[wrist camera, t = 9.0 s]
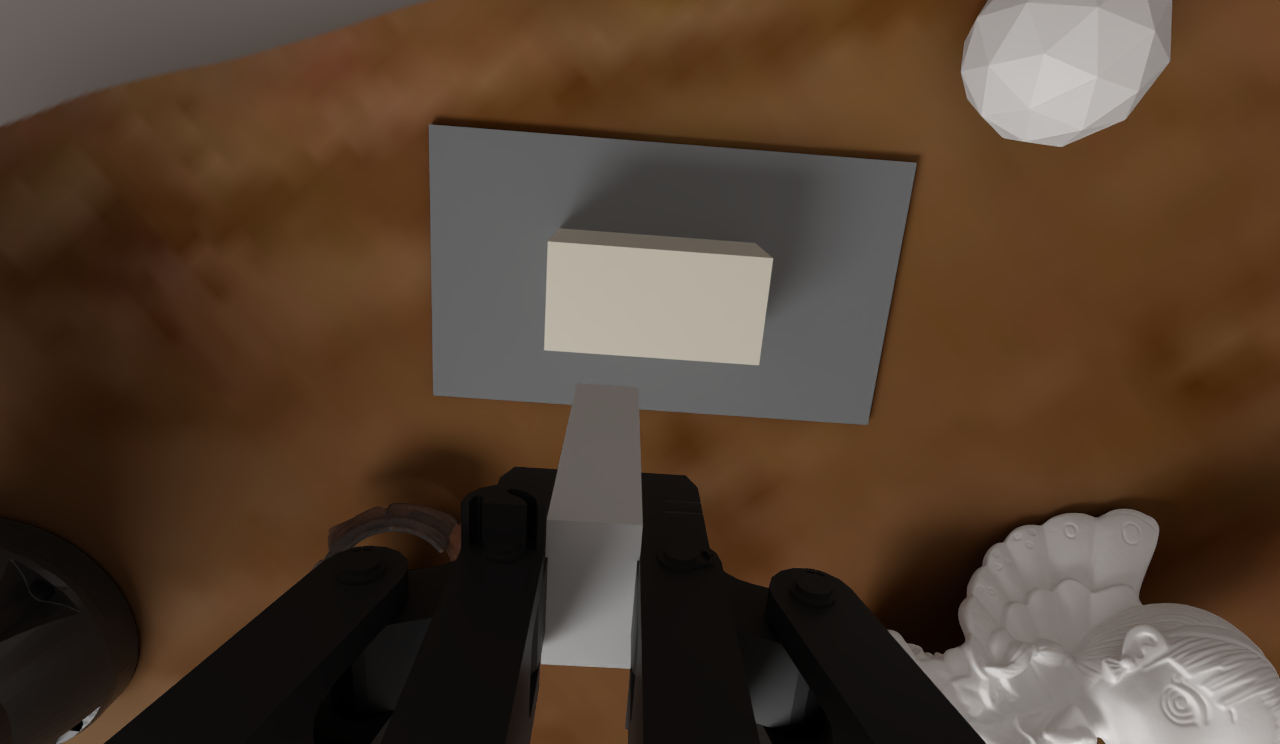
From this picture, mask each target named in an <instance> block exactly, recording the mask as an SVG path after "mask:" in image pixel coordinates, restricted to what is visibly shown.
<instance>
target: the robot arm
mask: <svg viewBox="0 0 1280 744" xmlns="http://www.w3.org/2000/svg"><path fill="white" fill-rule="evenodd" d="M138 648H139V647H138V634H137V629H136V625H135V621H134V618H133V615H132V613H131V610H130V608H129V606H128V604H127V602H126V600H125V599H124V597H123V595H122V594H121V592H120V591H119V589H118V588H117V586H116V585H115V584H114V582H113V581H112V580H111V579H110V577H109V576H108V575H107V574H106V573H105V572H104V571H103V570H102V569H101V568H100V567H99V566H98V565H97V564H96V563H95V562H94V561H93V560H91V559H90V558H89V557H88V556H86V555H85V554H84V553H83V552H81V551H80V550H78V549H77V548H76V547H74V546H73V545H71V544H69V543H68V542H66V541H64V540H63V539H61V538H59V537H57V536H55V535H53V534H51V533H49V532H47V531H44V530H42V529H39V528H37V527H34V526H31V525H28V524H25V523H21V522H18V521H14V520H9V519H4V518H0V744H61V743H63V742H65V741H67V740H69V739H71V738H72V737H74V736H76V735H77V734H79V733H81V732H82V731H83V730H85V729H86V728H87V727H89V726H90V725H91V724H92V723H93V722H94V721H96V720H97V719H98V718H99V717H100V716H101V714H102V713H103V712H104V711H105V710H106V709H107V708H108V707H109V706H110V705H111V704H112V703H113V702H114V701H115V700H116V698H117V697H118V696H119V695H120V694H121V693H122V692H123V691H124V689H125V688H126V687H127V685H128V683H129V682H130V680H131V678H132V676H133V673H134V671H135V668H136V664H137V659H138ZM541 653H542V655H541ZM540 658H541V664H551V665H570V666H590V667H609V668H628V669H630V679H629V691H628V702H627V714H626V726H625V729H628V744H986V742H985V741H984V740H983V739H982V738H981V737H980V736H979V734H978V733H977V732H976V731H975V730H974V729H973V728H972V726H971V725H970V724H969V723H968V722H967V721H966V720H965V718H964V717H963V716H962V715H961V714H960V713H959V712H958V710H957V709H956V708H955V707H954V706H953V705H952V704H951V702H950V701H949V700H948V699H947V698H946V697H945V696H944V694H943V693H942V692H941V691H940V690H939V689H938V688H937V686H936V685H935V684H934V683H933V682H932V681H931V680H930V678H929V677H928V676H927V675H926V674H925V673H924V672H923V670H922V669H921V668H920V667H919V666H918V665H917V664H916V662H915V661H914V660H913V659H912V658H911V657H910V656H909V654H908V653H907V652H906V651H905V650H904V649H903V648H902V646H901V645H900V644H899V643H898V642H897V641H896V640H895V638H894V637H893V636H892V635H891V634H890V633H889V632H888V630H887V629H886V628H885V627H884V626H883V625H882V624H881V622H880V621H879V620H878V619H877V618H876V617H875V616H874V614H873V613H872V612H871V611H870V610H869V609H868V608H867V606H866V605H865V604H864V603H863V602H862V601H861V600H860V598H859V597H858V596H857V595H856V594H855V593H854V592H853V590H852V589H851V588H849V587H848V586H847V585H846V584H845V583H843V582H842V581H841V580H840V579H837V578H835V577H833V576H831V575H829V574H827V573H825V572H822V571H819V570H815V569H808V568H805V569H804V568H792V569H788V570H783V571H780V572H779V573H777V574H776V575H775V576H773V577H772V579H771V582H770V585H769V588H766V587H762V586H759V585H755V584H751V583H748V582H745V581H742V580H739V579H737V578H735V577H733V576H731V575H729V574H727V573H726V572H724V571H723V567H722V562H721V561H720V559H719V557H718V555H717V553H715V552H714V551H713V550H711V549H710V548H709V543H708V538H707V533H706V527H705V522H704V517H703V515H702V507H701V504H700V497H699V492H698V488H697V487H696V486H695V485H694V484H693V483H692V482H691V481H690V480H689V479H688V478H687V477H686V476H685V475H669V474H653V473H641V457H640V427H639V397H638V387H627V386H612V385H597V384H582V383H577V385H576V390H575V394H574V399H573V403H572V408H571V412H570V417H569V421H568V426H567V430H566V435H565V439H564V444H563V448H562V453H561V457H560V462H559V466H558V469H543V468H527V467H514V468H513V469H511V470H510V471H509V472H507V473H506V474H504V475H503V476H502V477H500V480H499V482H498V485H493V486H488V487H484V488H479V489H477V490H475V491H473V492H471V493H469V494H467V495H466V497H465V498H464V499H463V500H462V501H461V549H460V552H459V554H458V557H457V559H456V560H455V561H452V562H449V563H446V564H443V565H439V566H434V567H430V568H422V569H415V570H408V565H407V559H406V558H405V557H404V556H403V555H402V554H401V553H400V552H398V551H396V550H393V549H390V548H387V547H378V546H363V547H361V546H360V547H354V548H351V549H348V550H345V551H342V552H339V553H336V554H334V555H333V556H331V557H329V558H328V559H326V560H324V561H323V562H321V563H320V564H319V565H318V566H317V567H315V568H314V569H313V570H312V571H311V572H309V573H308V574H307V575H306V576H305V577H303V578H302V579H301V580H300V581H299V582H297V583H296V584H295V585H294V586H293V587H291V588H290V589H289V590H288V591H287V592H285V593H284V594H283V595H282V596H281V597H279V598H278V599H277V600H276V601H275V602H273V603H272V604H271V605H270V606H269V607H267V608H266V609H265V610H264V611H263V612H261V613H260V614H259V615H258V616H257V617H255V618H254V619H253V620H252V621H251V622H249V623H248V624H247V625H246V626H245V627H243V628H242V629H241V630H240V631H239V632H237V633H236V634H235V635H234V636H233V637H231V638H230V639H229V640H228V641H227V642H225V643H224V644H223V645H222V646H221V647H219V648H218V649H217V650H216V651H215V652H213V653H212V654H211V655H210V656H209V657H207V658H206V659H205V660H204V661H203V662H201V663H200V664H199V665H198V666H197V667H195V668H194V669H193V670H192V671H191V672H189V673H188V674H187V675H186V676H185V677H183V678H182V679H181V680H180V681H179V682H177V683H176V684H175V685H174V686H173V687H171V688H170V689H169V690H168V691H167V692H165V693H164V694H163V695H162V696H161V697H159V698H158V699H157V700H156V701H155V702H153V703H152V704H151V705H150V706H149V707H147V708H146V709H145V710H144V711H143V712H141V713H140V714H139V715H138V716H137V717H135V718H134V719H133V720H132V721H131V722H129V723H128V724H127V725H126V726H125V727H123V728H122V729H121V730H120V731H119V732H117V733H116V734H115V735H114V736H113V737H111V738H110V739H109V740H108V741H107V742H105V743H104V744H530V739H531V733H532V727H533V721H534V714H535V708H536V702H537V696H538V690H539V674H540Z"/></svg>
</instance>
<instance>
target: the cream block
mask: <svg viewBox="0 0 1280 744" xmlns="http://www.w3.org/2000/svg"><path fill="white" fill-rule="evenodd" d="M772 264H773V258H772V257H771V256H770V255H769V254H768V253H767V252H765V251H764V250H763V249H762V248H761V247H759V246H758V245H757V244H756V243H749V242H736V241H722V240H709V239H696V238H682V237H669V236H656V235H642V234H629V233H616V232H602V231H589V230H576V229H562V228H559V229H558V231H557V232H556V233H555V234H554V235H553V236H552V237H551V238H550V239H549V241H548V249H547V279H546V308H545V337H544V350H547V351H561V352H575V353H589V354H604V355H618V356H632V357H646V358H661V359H675V360H689V361H703V362H718V363H732V364H746V365H759V362H760V354H761V347H762V339H763V332H764V324H765V317H766V309H767V302H768V294H769V287H770V279H771V272H772Z"/></svg>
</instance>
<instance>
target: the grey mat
mask: <svg viewBox="0 0 1280 744" xmlns="http://www.w3.org/2000/svg"><path fill="white" fill-rule="evenodd" d="M429 164H430V224H431V284H432V344H433V395H437V396H452V397H466V398H481V399H496V400H511V401H525V402H540V403H555V404H569V405H572V403H573V399H574V394H575V390H576V385H577V383H582V384H597V385H612V386H627V387H638V397H639V409H643V410H657V411H672V412H687V413H702V414H716V415H731V416H746V417H760V418H775V419H790V420H804V421H819V422H834V423H848V424H863V425H868V420H869V415H870V410H871V404H872V399H873V394H874V388H875V383H876V378H877V373H878V367H879V362H880V357H881V351H882V346H883V341H884V335H885V330H886V325H887V319H888V314H889V309H890V303H891V298H892V293H893V287H894V282H895V277H896V271H897V266H898V261H899V255H900V250H901V245H902V240H903V234H904V229H905V224H906V218H907V213H908V208H909V202H910V197H911V192H912V186H913V181H914V176H915V170H916V165H917V163H913V162H901V161H888V160H875V159H862V158H850V157H837V156H824V155H812V154H799V153H786V152H773V151H761V150H748V149H735V148H723V147H710V146H697V145H685V144H672V143H659V142H646V141H634V140H621V139H608V138H596V137H583V136H570V135H558V134H545V133H532V132H519V131H507V130H494V129H481V128H469V127H456V126H443V125H430V124H429ZM559 228H562V229H576V230H589V231H602V232H616V233H629V234H642V235H656V236H669V237H682V238H696V239H709V240H722V241H736V242H749V243H756V244H757V245H758V246H759V247H761V248H762V249H763V250H764V251H765V252H767V253H768V254H769V255H770V256H771V257H772V258H773V264H772V272H771V279H770V287H769V294H768V302H767V309H766V317H765V324H764V332H763V339H762V347H761V354H760V362H759V365H746V364H732V363H718V362H703V361H689V360H675V359H661V358H646V357H632V356H618V355H604V354H589V353H575V352H561V351H547V350H544V337H545V308H546V279H547V249H548V241H549V239H550V238H551V237H552V236H553V235H554V234H555V233H556V232H557V231H558V229H559Z"/></svg>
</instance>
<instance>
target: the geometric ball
mask: <svg viewBox="0 0 1280 744" xmlns="http://www.w3.org/2000/svg"><path fill="white" fill-rule="evenodd" d="M1171 20H1172V0H988V1H987V2H986V4H985V6H984V7H983V9H982V10H981V12H980V14H979V15H978V17H977V19H976V21H975V23H974V24H973V26H972V28H971V30H970V32H969V34H968V36H967V38H966V40H965V42H964V50H963V58H962V66H961V74H962V79H963V83H964V87H965V92H966V96H967V99H968V100H969V102H970V103H971V104H972V105H973V106H974V108H975V109H976V110H977V111H978V112H979V114H980V115H981V116H982V117H983V118H984V119H985V120H986V121H987V122H988V123H989V124H990V125H991V126H992V127H993V128H994V129H995V130H996V131H997V132H998V133H999V135H1000V136H1001V137H1002V138H1006V139H1012V140H1018V141H1023V142H1030V143H1037V144H1044V145H1051V146H1058V147H1062V146H1065V145H1067V144H1069V143H1072V142H1074V141H1076V140H1079V139H1081V138H1083V137H1086V136H1088V135H1091V134H1093V133H1095V132H1098V131H1100V130H1102V129H1105V128H1107V127H1109V126H1112V125H1114V124H1116V123H1119V122H1121V121H1123V120H1125V119H1126V118H1127V117H1128V115H1129V114H1130V113H1131V112H1132V110H1133V109H1134V108H1135V106H1136V105H1137V104H1138V102H1139V101H1140V100H1141V99H1142V97H1143V96H1144V95H1145V93H1146V92H1147V91H1148V89H1149V88H1150V87H1151V85H1152V84H1153V83H1154V82H1155V80H1156V79H1157V78H1158V76H1159V75H1160V74H1161V72H1162V71H1163V70H1164V68H1165V67H1166V66H1167V65H1168V63H1169V62H1170V48H1171Z"/></svg>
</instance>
